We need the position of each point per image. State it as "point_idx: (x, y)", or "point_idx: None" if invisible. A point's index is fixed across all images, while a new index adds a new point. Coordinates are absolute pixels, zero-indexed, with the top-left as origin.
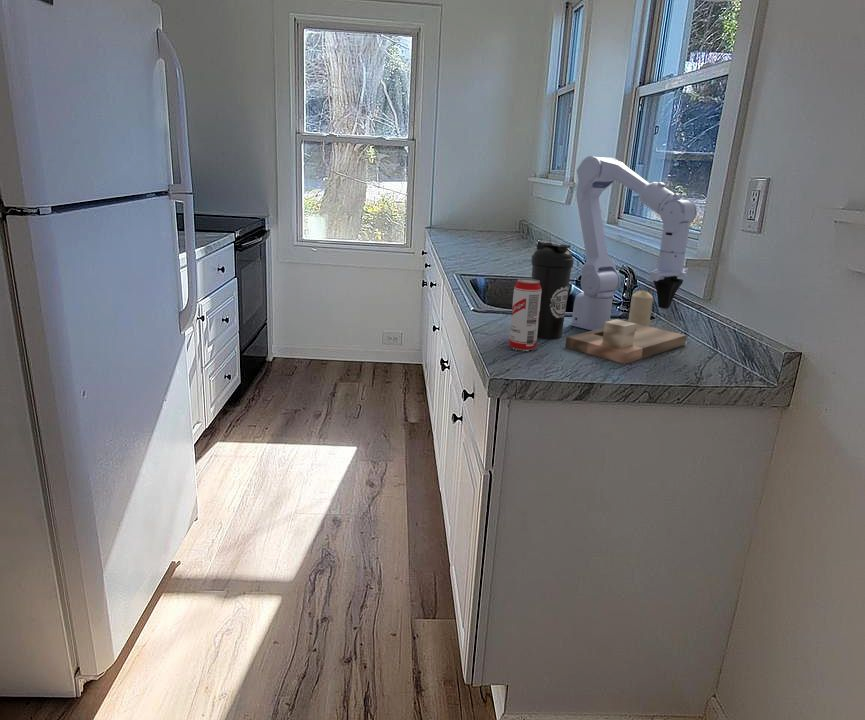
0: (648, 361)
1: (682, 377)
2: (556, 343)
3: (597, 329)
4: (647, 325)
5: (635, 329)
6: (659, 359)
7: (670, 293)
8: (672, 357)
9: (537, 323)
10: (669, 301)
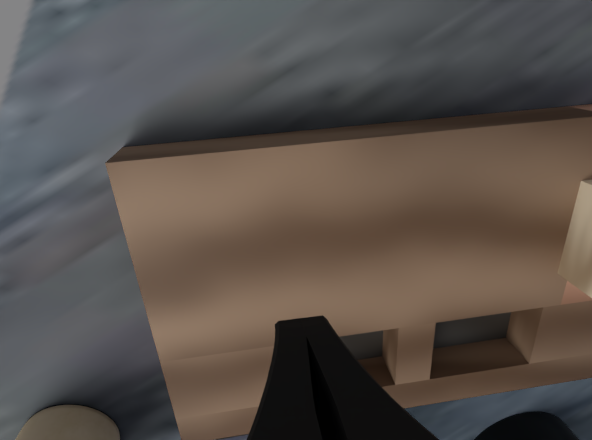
0: (584, 60)
1: None
2: None
3: (442, 401)
4: (53, 418)
5: None
6: (511, 50)
7: (403, 421)
8: (422, 33)
9: None
10: (329, 354)
